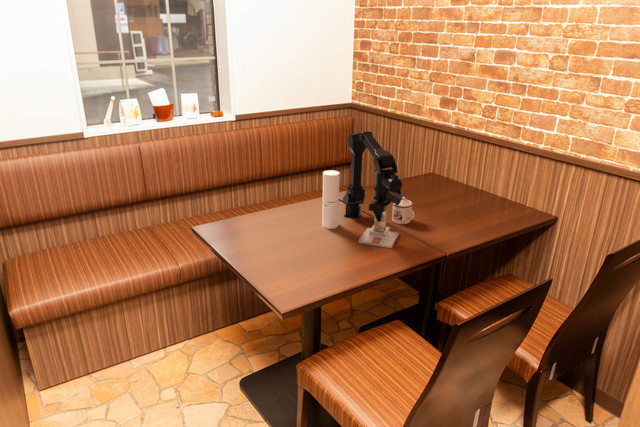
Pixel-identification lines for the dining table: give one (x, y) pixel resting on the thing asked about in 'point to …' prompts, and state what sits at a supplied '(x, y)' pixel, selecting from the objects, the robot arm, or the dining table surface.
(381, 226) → the post
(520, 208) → the dining table surface
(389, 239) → the sleeve stand
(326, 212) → the cylindrical container
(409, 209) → the teacup with lid
